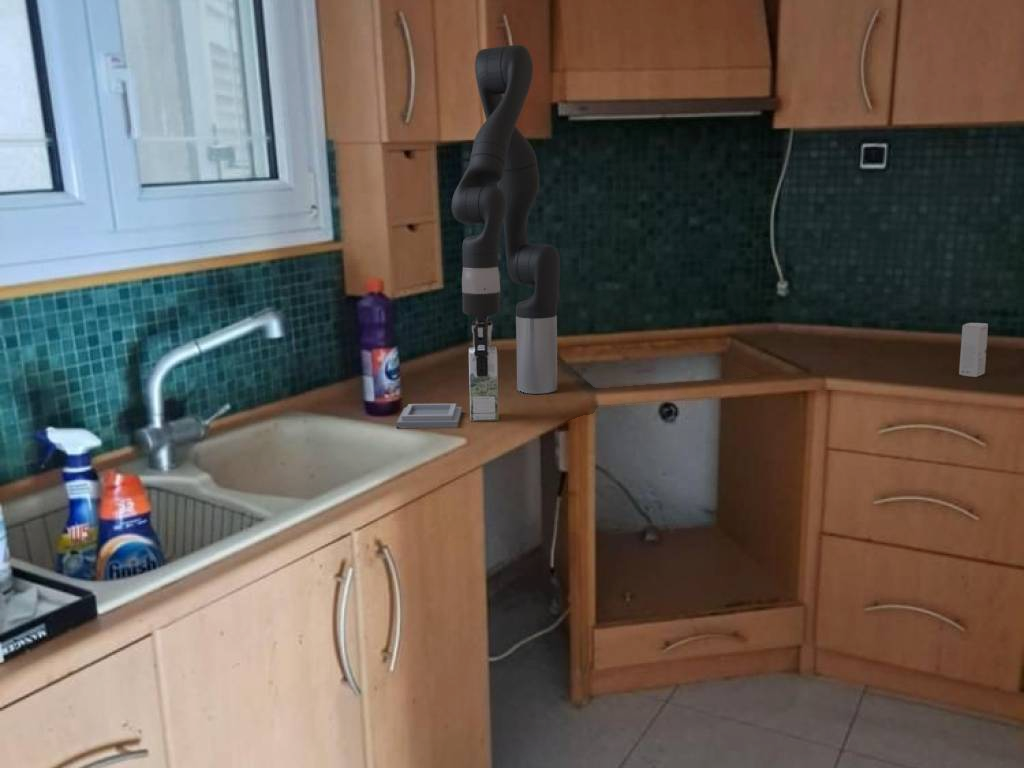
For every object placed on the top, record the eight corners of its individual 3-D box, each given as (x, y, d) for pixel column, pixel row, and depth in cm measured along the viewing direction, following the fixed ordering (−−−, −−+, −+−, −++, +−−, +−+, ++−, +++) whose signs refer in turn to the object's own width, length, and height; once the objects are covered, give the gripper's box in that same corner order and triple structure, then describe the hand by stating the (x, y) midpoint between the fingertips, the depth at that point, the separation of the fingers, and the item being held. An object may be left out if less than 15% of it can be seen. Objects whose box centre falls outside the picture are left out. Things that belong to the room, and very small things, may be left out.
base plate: (404, 413, 196) (404, 402, 196) (461, 412, 196) (461, 402, 195) (396, 428, 184) (396, 417, 184) (457, 427, 184) (456, 416, 184)
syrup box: (498, 414, 194) (496, 345, 191) (498, 421, 188) (497, 350, 185) (470, 415, 194) (468, 346, 191) (470, 422, 188) (468, 351, 185)
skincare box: (977, 377, 220) (982, 326, 217) (957, 375, 223) (961, 324, 220) (985, 373, 224) (990, 323, 222) (965, 370, 227) (970, 321, 225)
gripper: (498, 293, 178) (500, 380, 182) (501, 285, 192) (502, 365, 196) (459, 294, 178) (462, 380, 182) (464, 285, 192) (466, 365, 196)
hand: (483, 372), depth 189 cm, fingers closed on syrup box, 6 cm apart
